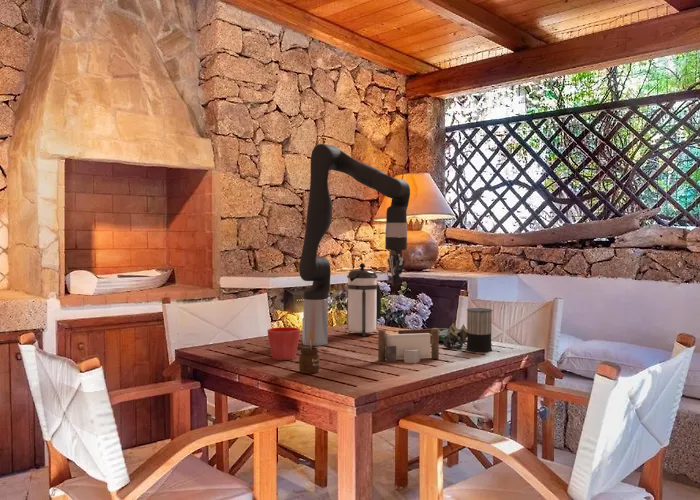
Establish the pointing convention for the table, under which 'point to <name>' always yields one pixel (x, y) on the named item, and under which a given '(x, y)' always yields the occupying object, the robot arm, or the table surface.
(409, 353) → the block
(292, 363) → the table surface
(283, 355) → the flower pot
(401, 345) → the panel
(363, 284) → the coffee press
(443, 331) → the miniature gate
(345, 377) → the table surface
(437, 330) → the gate posts
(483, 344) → the milk frother
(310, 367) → the jar with wooden spoon
